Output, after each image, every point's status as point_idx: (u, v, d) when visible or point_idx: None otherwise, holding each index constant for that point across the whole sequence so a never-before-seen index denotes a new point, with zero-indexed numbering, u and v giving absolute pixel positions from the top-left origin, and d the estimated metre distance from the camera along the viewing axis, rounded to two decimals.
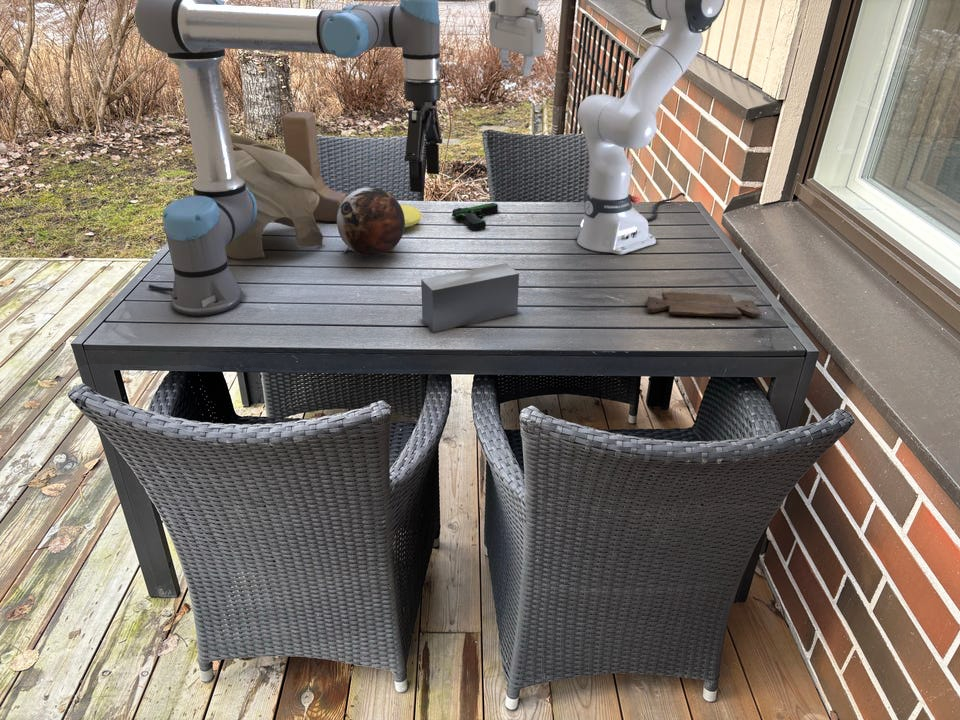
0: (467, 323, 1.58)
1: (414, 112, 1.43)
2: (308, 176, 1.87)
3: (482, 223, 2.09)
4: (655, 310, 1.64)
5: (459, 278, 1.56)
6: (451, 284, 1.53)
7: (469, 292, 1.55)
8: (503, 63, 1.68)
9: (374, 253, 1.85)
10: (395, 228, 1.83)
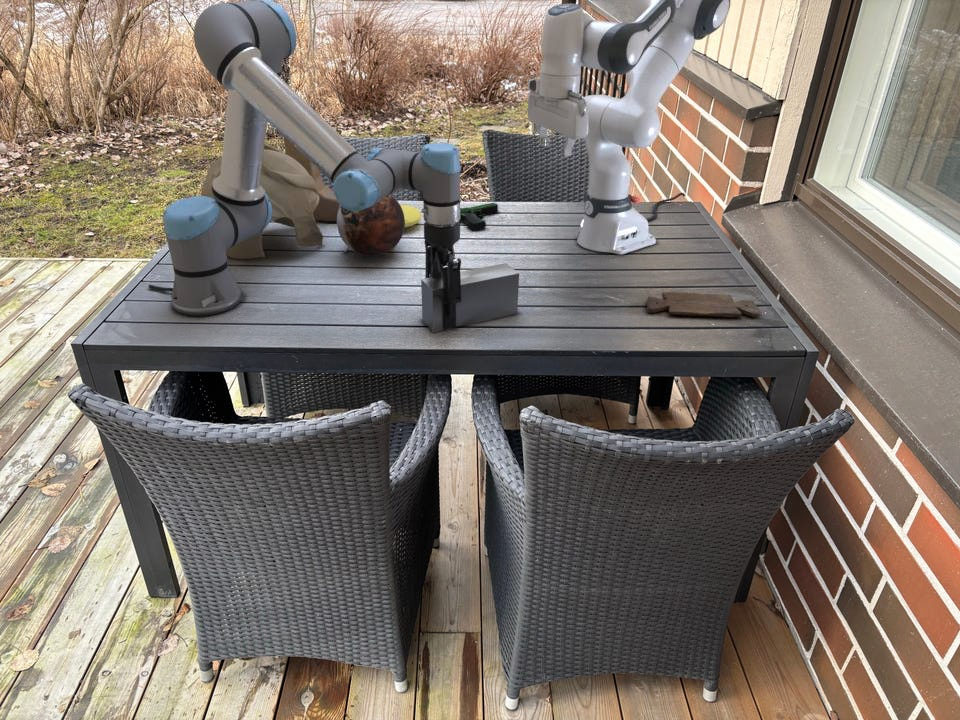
0: (467, 323, 1.58)
1: None
2: (308, 176, 1.87)
3: (482, 223, 2.09)
4: (655, 310, 1.64)
5: None
6: None
7: (469, 292, 1.55)
8: (542, 140, 1.66)
9: (374, 253, 1.85)
10: (395, 228, 1.83)
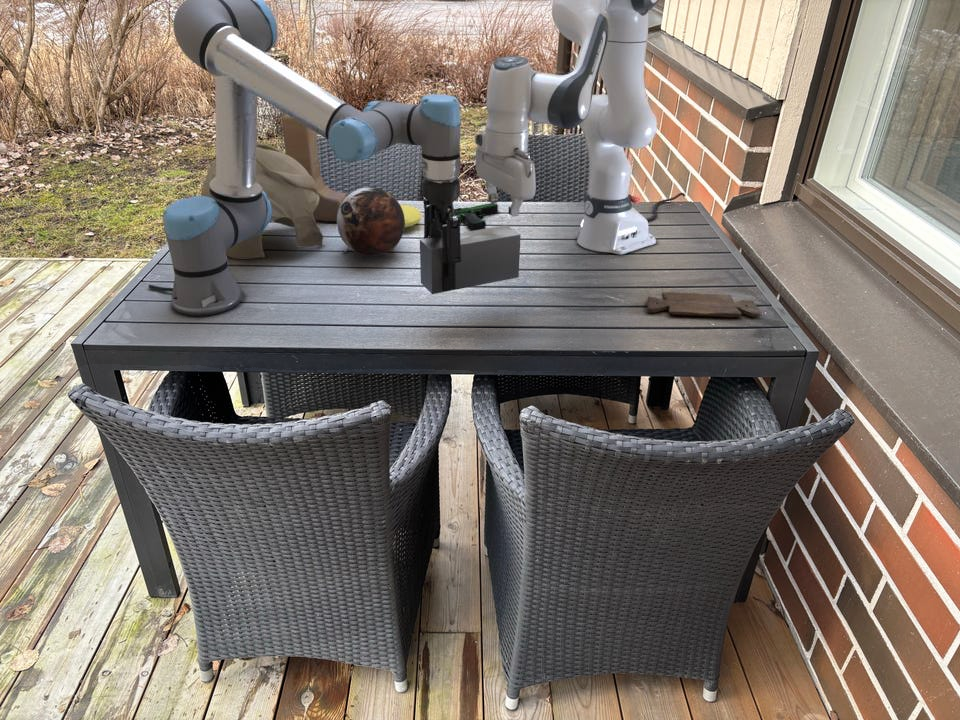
0: (467, 286, 1.54)
1: None
2: (308, 176, 1.87)
3: (482, 223, 2.09)
4: (655, 310, 1.64)
5: None
6: None
7: (469, 252, 1.50)
8: (490, 196, 1.55)
9: (374, 253, 1.85)
10: (395, 228, 1.83)
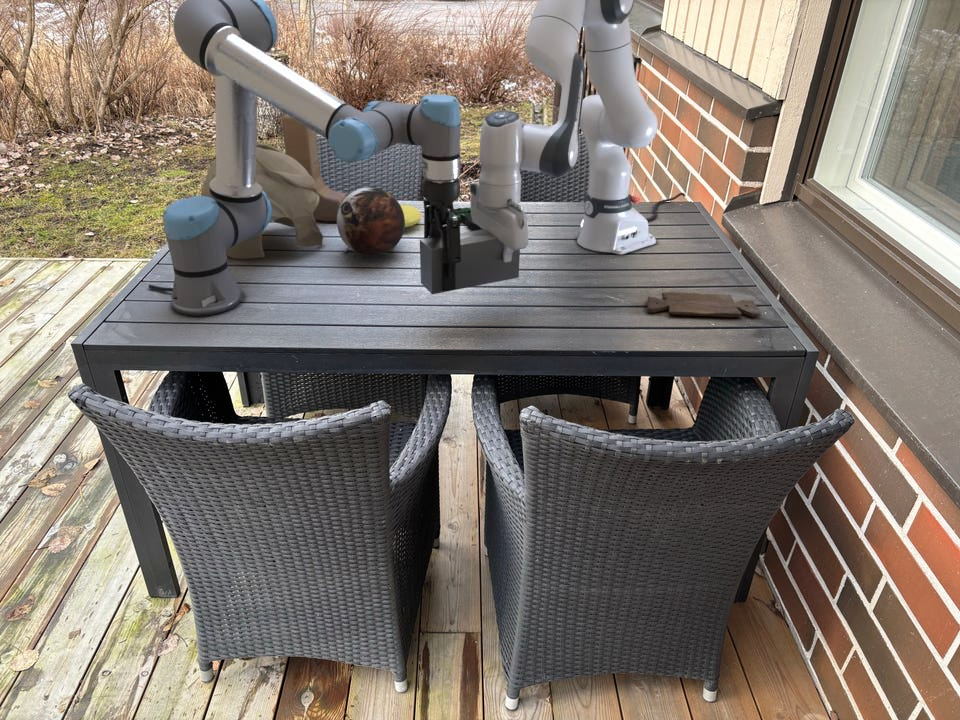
0: (467, 286, 1.54)
1: None
2: (308, 176, 1.87)
3: None
4: (655, 310, 1.64)
5: None
6: None
7: (469, 253, 1.50)
8: None
9: (374, 253, 1.85)
10: (395, 228, 1.83)
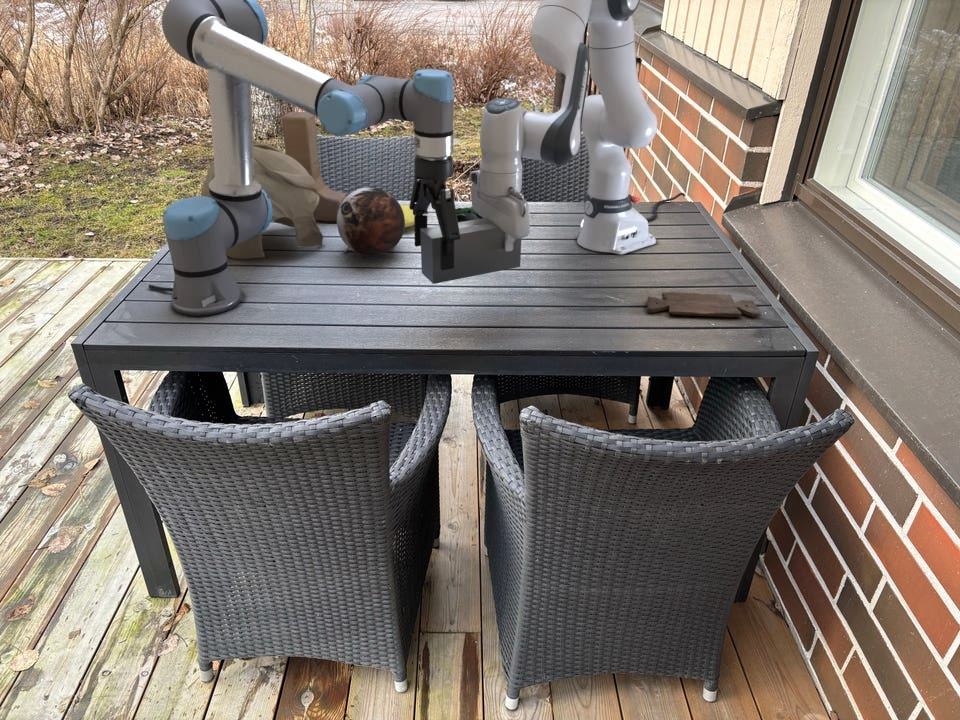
0: (468, 275, 1.52)
1: None
2: (308, 176, 1.87)
3: None
4: (655, 310, 1.64)
5: (459, 227, 1.50)
6: None
7: (470, 241, 1.49)
8: None
9: (374, 253, 1.85)
10: (395, 228, 1.83)
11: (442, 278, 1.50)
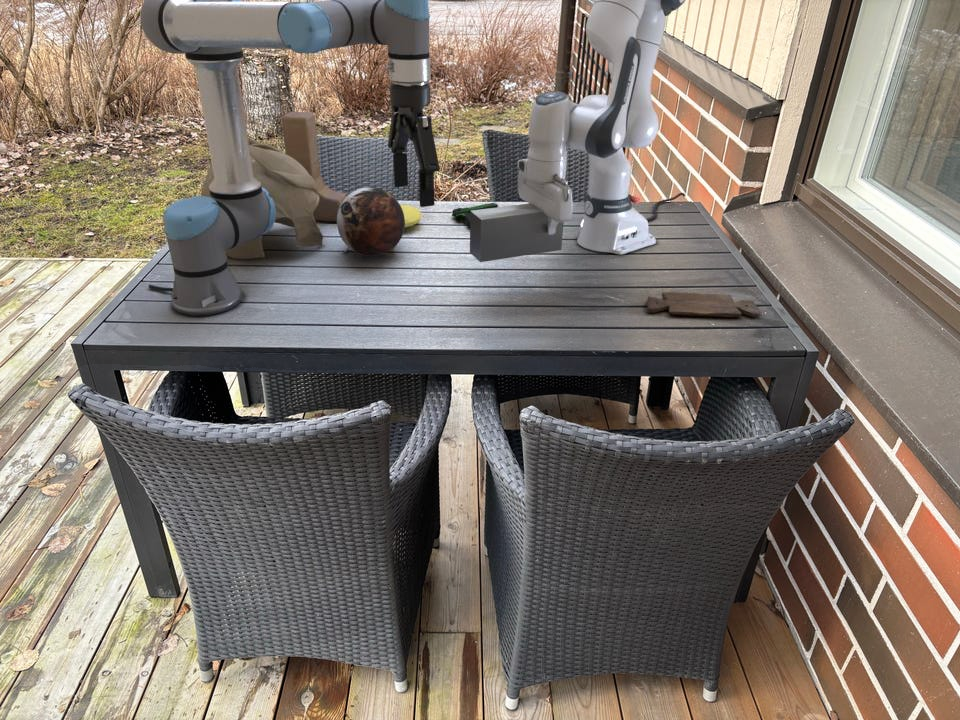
0: (513, 255, 1.64)
1: None
2: (308, 176, 1.87)
3: None
4: (655, 310, 1.64)
5: (506, 210, 1.62)
6: (499, 215, 1.59)
7: (515, 224, 1.60)
8: None
9: (374, 253, 1.85)
10: (395, 228, 1.83)
11: (489, 257, 1.62)
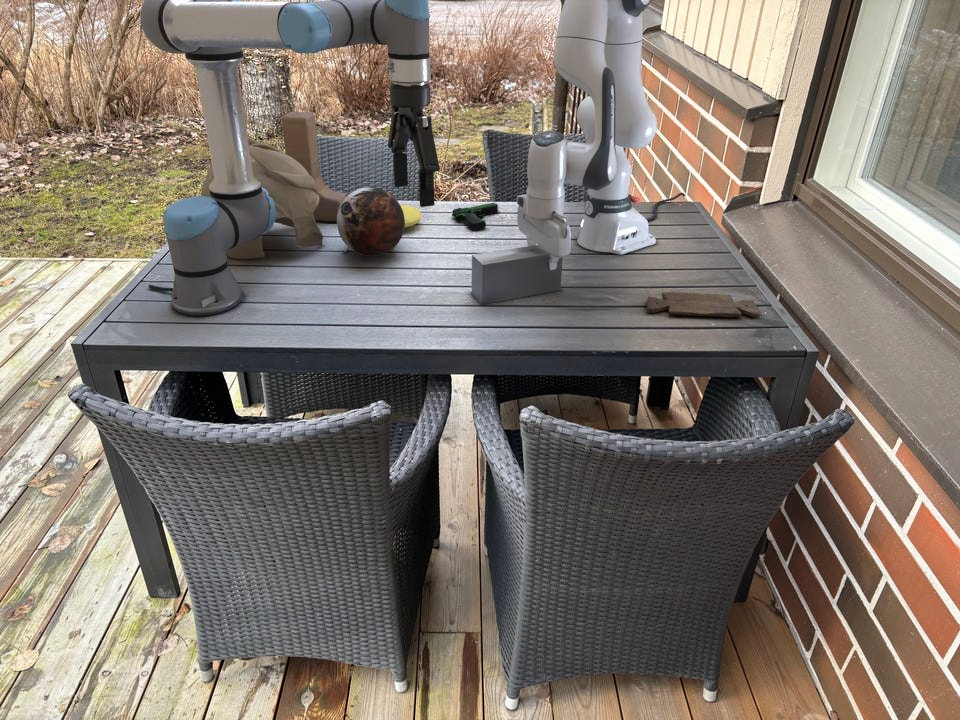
0: (513, 297, 1.70)
1: None
2: (308, 176, 1.87)
3: (482, 223, 2.09)
4: (655, 310, 1.64)
5: (507, 254, 1.67)
6: (500, 259, 1.65)
7: (516, 267, 1.66)
8: None
9: (374, 253, 1.85)
10: (395, 228, 1.83)
11: (490, 299, 1.68)
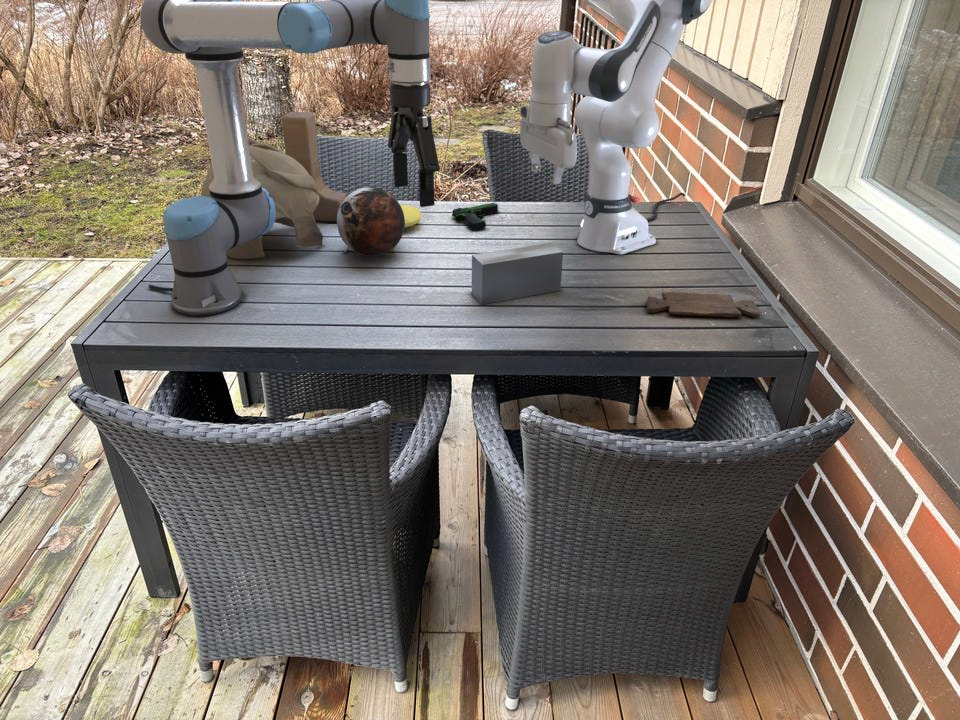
0: (513, 297, 1.70)
1: None
2: (308, 176, 1.87)
3: (482, 223, 2.09)
4: (655, 310, 1.64)
5: (507, 254, 1.67)
6: (500, 259, 1.65)
7: (516, 267, 1.66)
8: (533, 166, 1.64)
9: (374, 253, 1.85)
10: (395, 228, 1.83)
11: (490, 299, 1.68)
